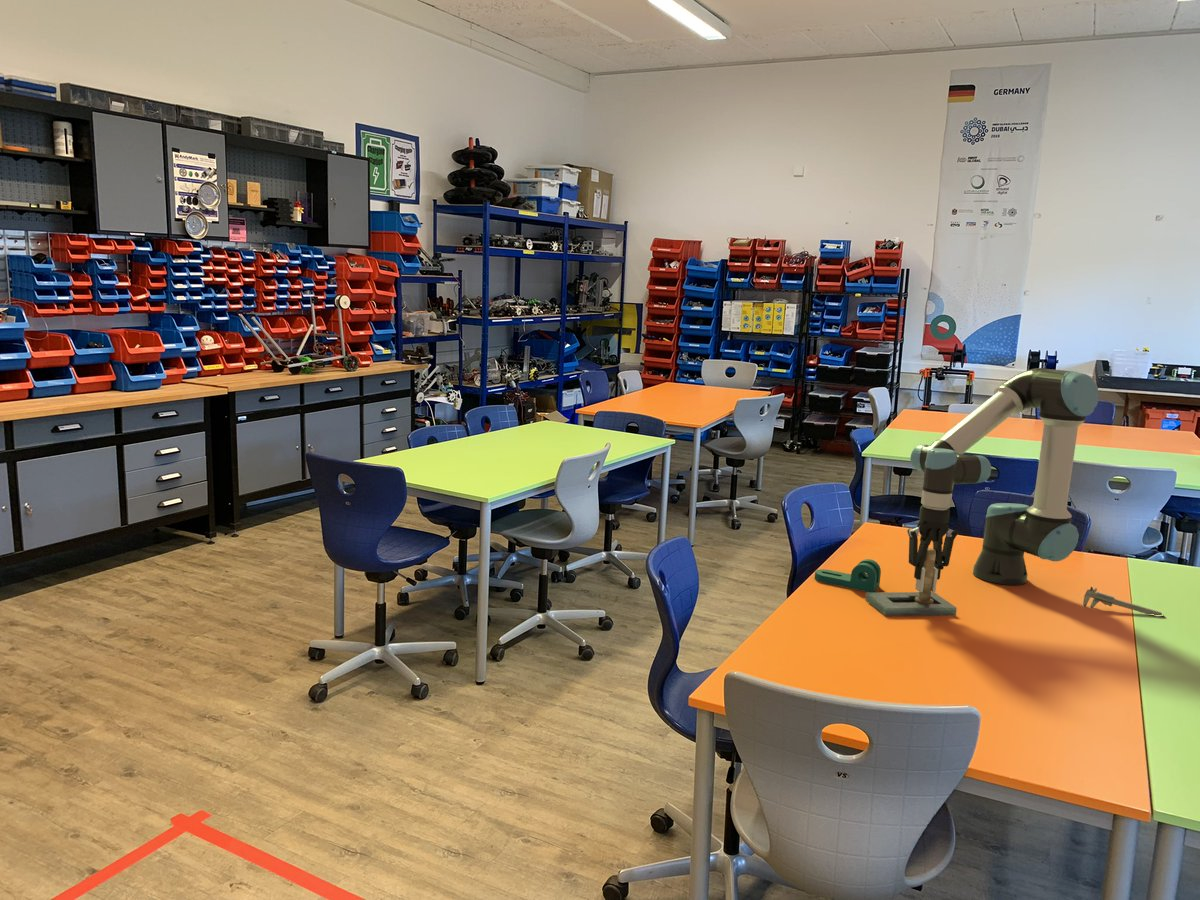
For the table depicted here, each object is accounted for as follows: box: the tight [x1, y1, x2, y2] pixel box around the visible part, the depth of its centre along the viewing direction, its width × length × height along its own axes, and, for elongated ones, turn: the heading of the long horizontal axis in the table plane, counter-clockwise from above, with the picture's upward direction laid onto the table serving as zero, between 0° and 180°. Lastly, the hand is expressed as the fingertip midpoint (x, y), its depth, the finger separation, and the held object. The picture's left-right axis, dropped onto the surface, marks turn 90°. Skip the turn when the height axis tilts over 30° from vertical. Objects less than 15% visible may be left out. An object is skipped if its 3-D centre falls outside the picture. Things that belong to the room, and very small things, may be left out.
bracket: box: [814, 558, 882, 592], centre depth 256 cm, size 18×7×8 cm, turn 59°
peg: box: [914, 547, 936, 604], centre depth 237 cm, size 5×5×15 cm
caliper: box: [1082, 586, 1165, 616], centre depth 242 cm, size 20×1×6 cm, turn 73°
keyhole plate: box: [865, 591, 957, 617], centre depth 238 cm, size 20×12×2 cm, turn 98°
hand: (925, 590), depth 238 cm, fingers closed on peg, 3 cm apart
